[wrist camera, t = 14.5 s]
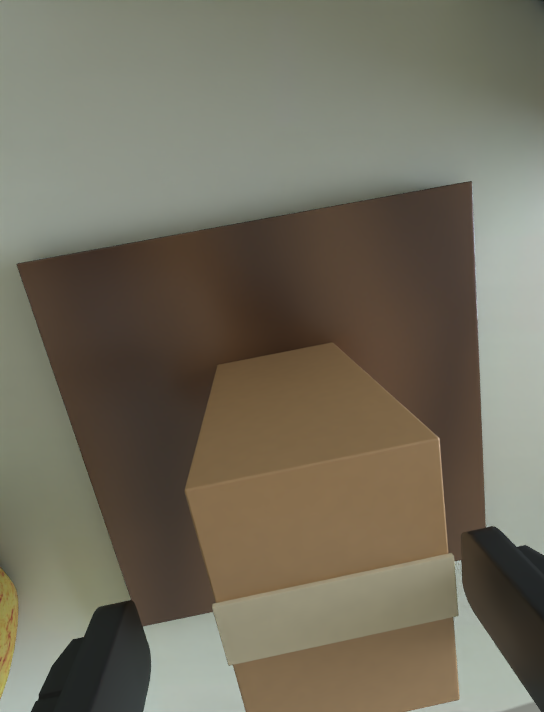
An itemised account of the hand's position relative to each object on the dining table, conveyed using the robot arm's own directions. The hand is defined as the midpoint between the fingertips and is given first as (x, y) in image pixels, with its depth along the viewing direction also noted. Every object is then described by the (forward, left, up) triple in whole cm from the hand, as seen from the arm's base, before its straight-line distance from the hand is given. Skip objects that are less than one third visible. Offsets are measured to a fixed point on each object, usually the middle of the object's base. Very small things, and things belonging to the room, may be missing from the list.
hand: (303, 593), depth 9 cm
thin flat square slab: (+1, 0, -9) cm, 9 cm away
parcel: (+1, 0, -8) cm, 8 cm away
